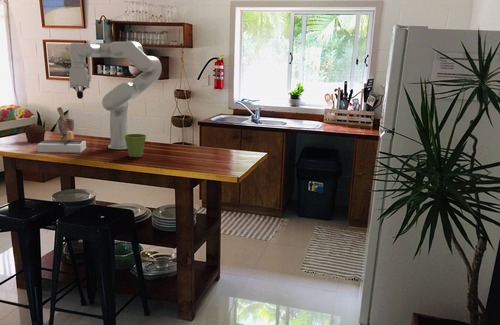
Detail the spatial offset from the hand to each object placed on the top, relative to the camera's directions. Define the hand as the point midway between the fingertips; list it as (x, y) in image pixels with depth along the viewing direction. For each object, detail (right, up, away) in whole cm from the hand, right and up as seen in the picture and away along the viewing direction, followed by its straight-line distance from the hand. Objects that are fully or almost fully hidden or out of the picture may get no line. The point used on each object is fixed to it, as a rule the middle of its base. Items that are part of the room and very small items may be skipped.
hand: (80, 98), depth 242 cm
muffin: (-30, -25, +9) cm, 40 cm away
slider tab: (-2, -26, -9) cm, 27 cm away
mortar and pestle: (-15, -24, +15) cm, 32 cm away
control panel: (-6, -30, -8) cm, 32 cm away
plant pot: (+36, -33, -15) cm, 51 cm away
